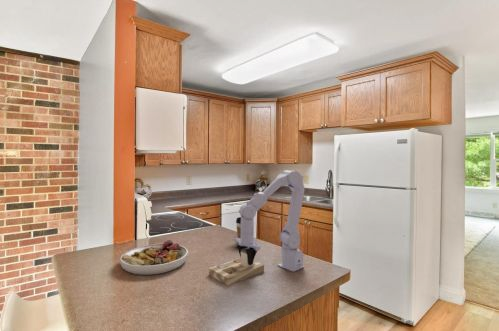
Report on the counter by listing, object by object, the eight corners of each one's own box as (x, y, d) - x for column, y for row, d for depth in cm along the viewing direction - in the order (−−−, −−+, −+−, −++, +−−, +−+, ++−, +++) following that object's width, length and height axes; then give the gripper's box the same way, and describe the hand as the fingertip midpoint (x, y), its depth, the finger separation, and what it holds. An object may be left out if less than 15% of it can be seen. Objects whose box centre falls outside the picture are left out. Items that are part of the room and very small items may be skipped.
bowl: (169, 281, 112) (169, 261, 112) (104, 274, 118) (104, 256, 118) (197, 255, 142) (197, 240, 141) (144, 251, 148) (144, 236, 147)
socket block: (264, 271, 121) (264, 264, 121) (227, 285, 108) (227, 277, 108) (244, 263, 131) (244, 256, 130) (209, 274, 117) (209, 267, 117)
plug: (253, 267, 121) (253, 249, 121) (246, 270, 118) (246, 251, 118) (247, 265, 124) (247, 247, 124) (240, 267, 121) (240, 249, 121)
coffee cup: (244, 246, 155) (244, 219, 154) (232, 243, 160) (232, 217, 160) (253, 242, 162) (253, 217, 161) (242, 240, 167) (242, 215, 166)
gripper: (229, 230, 123) (229, 260, 124) (251, 237, 112) (251, 270, 113) (241, 227, 128) (241, 256, 128) (263, 234, 117) (263, 265, 117)
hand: (247, 262), depth 121 cm, fingers closed on plug, 4 cm apart
